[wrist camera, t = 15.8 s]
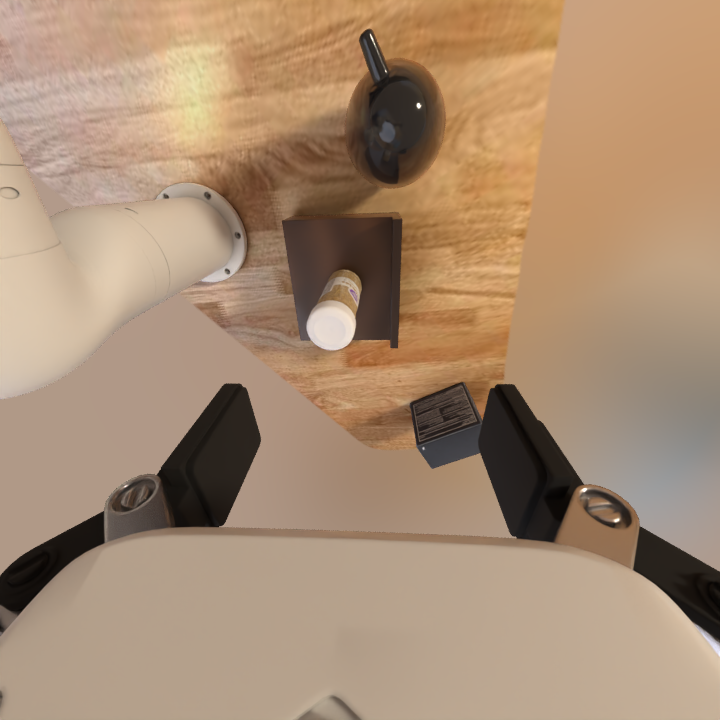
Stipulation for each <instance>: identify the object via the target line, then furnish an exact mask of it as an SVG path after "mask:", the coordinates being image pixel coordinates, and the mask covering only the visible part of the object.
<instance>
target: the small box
mask: <svg viewBox="0 0 720 720" xmlns="http://www.w3.org/2000/svg"><path fill="white" fill-rule="evenodd" d="M410 408H411V413H412V420H413V425H414V432H415V438H416V447H417V448H418V450H419V451H420V453H421V454H422V456H423V457H424V458H425V460H426V461H427V463H428V464H429V465H430V467H431V468H432V469H433V468H436V467H439V466H442V465H445V464H448V463H451V462H454V461H457V460H460V459H463V458H466V457H469V456H472V455H476V454H478V453H480V451H479V447H478V438H479V434H480V430H481V426H482V418H481V416H480V414H479V412H478V410H477V407H476V405H475V403H474V401H473V399H472V397H471V395H470V393H469V391H468V389H467V387H466V385H465V383H464V382H462V383H459V384H457V385H454V386H452V387H449V388H447V389H445V390H442V391H440V392H437V393H435V394H432V395H430V396H427V397H425V398H422V399H420V400H417V401H415V402H413V403H410Z"/></svg>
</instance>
